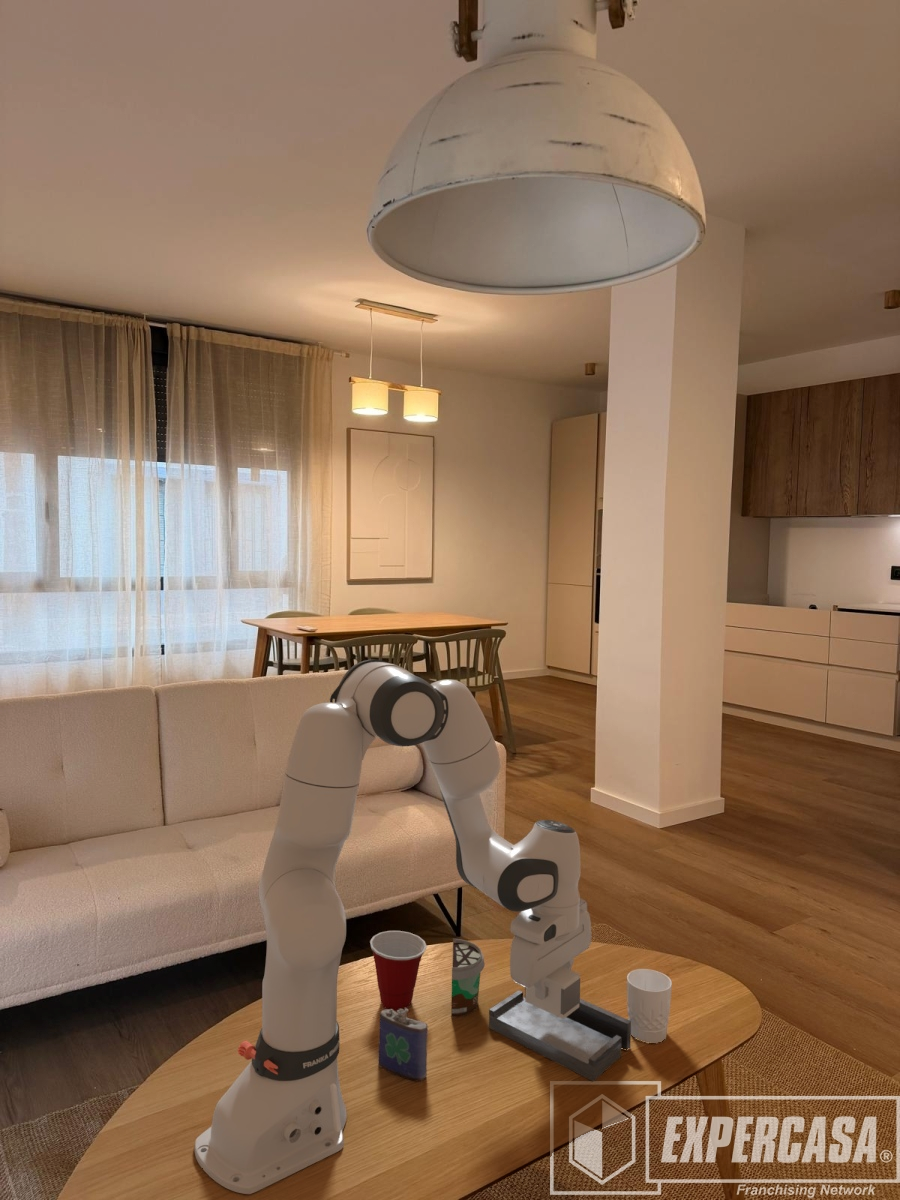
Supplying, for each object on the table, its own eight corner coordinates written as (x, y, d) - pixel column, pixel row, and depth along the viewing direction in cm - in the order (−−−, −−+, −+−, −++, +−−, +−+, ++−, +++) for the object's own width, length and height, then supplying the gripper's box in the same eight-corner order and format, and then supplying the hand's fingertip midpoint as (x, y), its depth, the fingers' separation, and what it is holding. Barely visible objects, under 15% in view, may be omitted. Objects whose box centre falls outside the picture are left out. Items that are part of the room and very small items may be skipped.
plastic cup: (424, 1019, 151) (425, 956, 150) (366, 1018, 151) (367, 955, 150) (426, 988, 162) (427, 929, 161) (372, 987, 162) (372, 928, 161)
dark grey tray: (593, 1081, 134) (594, 1052, 134) (488, 1028, 149) (489, 1001, 149) (630, 1048, 143) (631, 1021, 143) (528, 1001, 158) (529, 976, 158)
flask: (429, 1075, 135) (430, 1013, 134) (419, 1085, 133) (420, 1021, 132) (383, 1057, 140) (384, 996, 139) (373, 1066, 137) (374, 1004, 137)
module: (563, 1019, 139) (564, 985, 139) (525, 1001, 145) (525, 968, 144) (579, 1007, 143) (580, 973, 143) (541, 990, 148) (542, 957, 148)
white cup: (668, 1050, 143) (670, 995, 143) (622, 1040, 146) (624, 986, 145) (671, 1026, 151) (673, 973, 150) (627, 1017, 153) (629, 965, 153)
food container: (484, 1022, 151) (485, 970, 150) (451, 1021, 151) (452, 969, 150) (483, 987, 163) (484, 938, 162) (452, 986, 163) (453, 937, 162)
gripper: (571, 890, 153) (569, 961, 153) (504, 927, 137) (502, 1006, 138) (600, 899, 148) (599, 973, 149) (534, 939, 133) (533, 1021, 134)
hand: (552, 990), depth 144 cm, fingers closed on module, 5 cm apart
